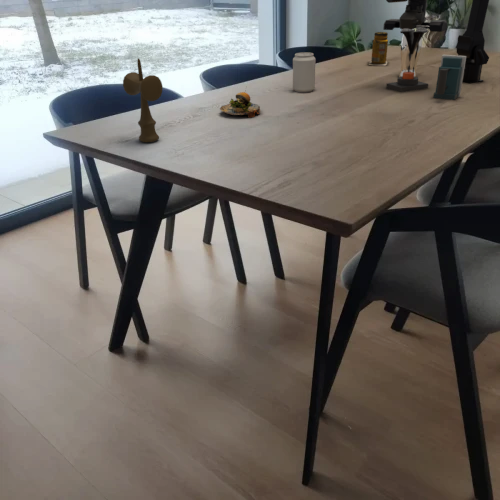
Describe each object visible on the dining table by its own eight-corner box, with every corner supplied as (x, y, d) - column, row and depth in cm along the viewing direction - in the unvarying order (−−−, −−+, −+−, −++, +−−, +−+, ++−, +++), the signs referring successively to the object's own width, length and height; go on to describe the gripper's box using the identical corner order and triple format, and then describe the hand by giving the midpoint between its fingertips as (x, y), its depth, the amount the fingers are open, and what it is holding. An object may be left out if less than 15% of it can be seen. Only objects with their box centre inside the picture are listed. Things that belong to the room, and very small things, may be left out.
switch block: (411, 84, 179) (412, 74, 177) (427, 88, 173) (429, 77, 171) (385, 88, 175) (386, 77, 173) (401, 92, 169) (402, 81, 167)
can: (288, 90, 178) (288, 53, 172) (307, 87, 181) (307, 50, 175) (300, 94, 172) (300, 56, 166) (319, 91, 175) (320, 53, 169)
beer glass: (415, 74, 193) (420, 31, 186) (419, 78, 187) (424, 34, 180) (396, 75, 194) (401, 32, 186) (399, 79, 188) (404, 34, 180)
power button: (408, 77, 174) (409, 71, 173) (415, 79, 172) (416, 73, 171) (399, 78, 173) (400, 72, 172) (407, 80, 170) (407, 74, 169)
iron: (442, 54, 159) (431, 60, 151) (466, 56, 155) (456, 61, 147) (437, 94, 164) (426, 101, 157) (460, 96, 161) (449, 104, 153)
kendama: (149, 147, 127) (138, 62, 118) (129, 139, 134) (117, 58, 124) (169, 141, 131) (160, 58, 121) (148, 134, 137) (138, 54, 127)
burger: (215, 111, 156) (213, 85, 152) (251, 106, 160) (250, 81, 156) (228, 121, 146) (226, 94, 143) (266, 115, 150) (266, 89, 146)
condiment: (387, 62, 218) (390, 31, 212) (386, 65, 211) (389, 34, 205) (369, 62, 220) (372, 31, 214) (368, 65, 213) (370, 34, 207)
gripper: (378, 2, 159) (374, 56, 167) (439, 3, 150) (432, 59, 157) (392, -1, 167) (387, 51, 175) (451, 0, 158) (443, 54, 165)
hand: (411, 54), depth 168 cm, fingers closed
